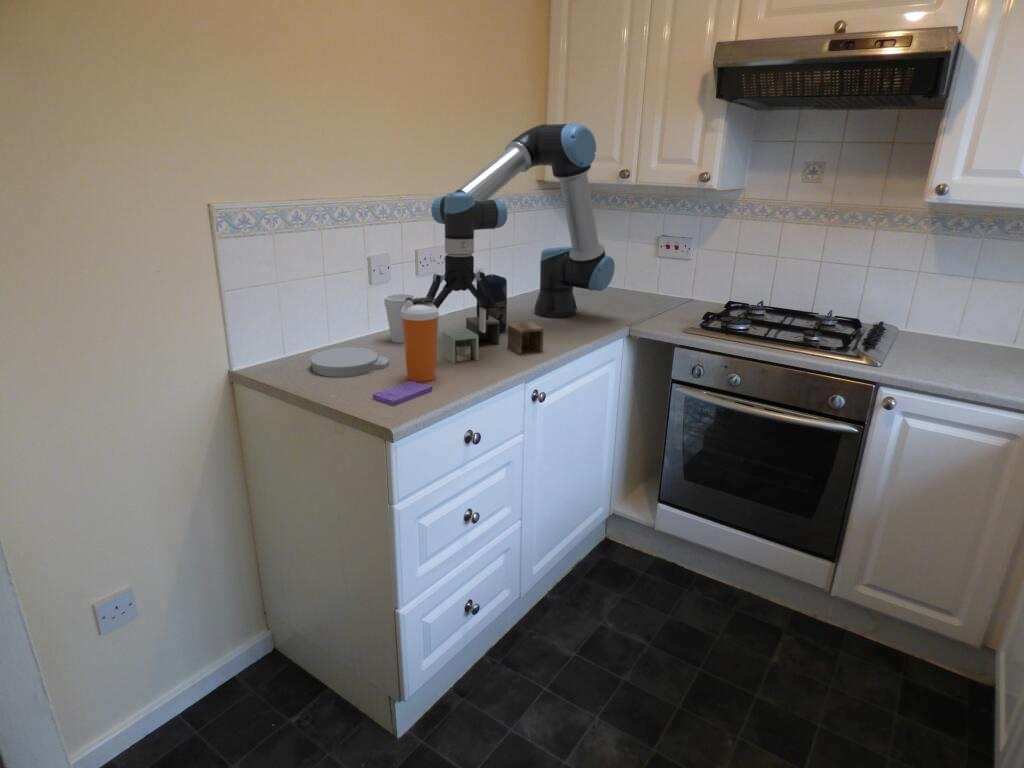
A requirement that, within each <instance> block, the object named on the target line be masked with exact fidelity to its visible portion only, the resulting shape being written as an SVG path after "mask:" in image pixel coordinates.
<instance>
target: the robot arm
mask: <svg viewBox="0 0 1024 768" xmlns="http://www.w3.org/2000/svg"><path fill="white" fill-rule="evenodd" d="M595 153H597V144H596V139H595V136H594V134H593V132H592V130H590V128H589V127H587V126H586V125H584V124H581V123H580V124H577V123H558V124H548V123H546V124H545V123H544V124H538V125H536V126H533V127H532V128H529V129H528V130H525V131H524V132H522V133H521V134H519V135H518V136H515V138H514V139H513V140H511V141H509V142H508V144H506V146H505V148H504V151H503V152H502V153H501V154H500V155H498V156H496V158H495V159H493V160H492V161H491V162H490V163H488V164H487V165H486V166H484V168H482V169H481V170H479V172H477V173H476V174H474V175H473V176H472V178H471V177H470V179H469V180H468V181H466V182H465V183H464V184H463V185H461V186H460V187H459V188H457V190H455V191H453V192H448V193H446V194H445V195H444V196H438V197H436V198H435V199H434V200H433V202H432V203H431V209H430V210H431V211H430V213H431V215H432V218H433V220H434V221H435V222H436V223H437V224H440V225H441V224H442V225H444V253H445V254H446V255H445V256H444V274H437V273H434V274H433V276H432V282H431V285H430V288H429V290H428V291H427V294H426V296H425V297H431V298H435V300H433V305H435V306H436V308H437V309H438V310H439V308H440V307H441V305H442V304H443V302H444V301H445V300H446V299H447V297H448V296H449V295H450V294H451V293H452V292H453V291H454V292H460V291H467V290H468V291H469V292H470V293H471V294H472V296H473V297H474V298H475V299H476V301H477V300H478V302H479V303H480V304H481V305H482V306H483V308H482V307H480V308H479V331H481V332H482V333H486V320H488V319H489V309H490V308H491V306H495V304H496V303H495V301H494V298H493V296H492V294H491V292H490V290H489V287H488V285H487V283H486V281H485V276H486V274H485V273H484V272H482V271H477V272H474V269H475V268H474V266H475V263H474V261H475V258H474V255H473V254H474V252H475V231H477V230H495V229H499V228H502V227H503V226H504V225H505V224H506V223H507V221H508V208H507V206H506V204H505V203H504V202H503V201H501V200H499V199H490V198H491V197H493V196H494V195H495V194H496V193H497V192H499V190H502V188H504V186H506V185H507V184H508V183H509V182H510V181H512V179H514V178H516V176H517V175H519V174H520V173H525V172H527V171H529V169H532V168H533V167H537V166H538V167H539V166H548V167H549V166H550V167H551V171H552V176H553V177H554V178H555V179H557V180H559V186H560V191H561V196H562V201H563V206H564V211H565V212H564V213H565V216H566V222H567V227H568V231H569V237H570V242H571V245H572V246H559V247H558V246H557V247H549V248H544V249H543V250H542V251H541V252H540V253H541V254H540V262H539V263H540V264H539V265H540V267H539V268H540V269H539V273H540V274H539V276H540V277H539V279H540V280H539V292H538V295H537V299H536V300H535V304H534V307H533V311H534V312H533V313H534V314H535V315H536V316H540V317H543V318H552V319H562V318H563V319H565V318H571V317H575V316H576V315H577V314H578V306H577V302H576V298H575V295H574V288H578V289H583V290H585V289H586V290H590V291H596V292H597V291H598V292H600V291H604V290H605V289H607V288H608V287H609V285H610V283H611V282H612V280H613V277H614V274H615V267H616V266H615V265H616V264H615V260H614V258H612V257H611V256H610V255H606V251H605V250H606V249H605V246H604V245H603V244H601V243H600V242H599V237H598V231H597V225H596V220H595V213H594V207H593V203H592V202H593V200H592V197H591V190H590V189H591V188H590V184H589V177H588V172H590V170H591V168H592V164H593V162H594V161H595V158H596V154H595ZM474 280H476V281H477V280H478V282H479V284H480V287H481V289H482V291H483V293H484V295H485V297H486V300H487V302H486V301H485V299H484V298H483V297H482V296H481V294H480V293H479V292H478V291H477V287H476V286H475V285H474V284H473V282H474ZM443 281H444V282H445V284H444V286H443V287H442V289H441V290H440V292H439V293H438V291H439V288H440V286H441V284H442V283H443ZM437 293H438V295H437ZM436 295H437V296H436ZM423 302H426V301H423ZM439 319H440V315H439V312H438V318H437V338H439V337H440V330H439V329H440V325H439V324H440V322H439Z"/></svg>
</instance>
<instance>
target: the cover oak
mask: <svg viewBox="0 0 1024 768" xmlns="http://www.w3.org/2000/svg"><path fill="white" fill-rule="evenodd" d="M465 329H469V330H470V331H472V332H474V333H475V334H477V335H479V340H489V341H491V342H492V343H494V344H496V345H500V339H501V337H500V336H501V335H500V333H501V332H500V321H498V320H497V319H495V318H493V317H491V316H489V319H488V320H486V333H482V332H481V331H479V317H477V316H470V317H465Z"/></svg>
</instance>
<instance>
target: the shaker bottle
mask: <svg viewBox="0 0 1024 768" xmlns="http://www.w3.org/2000/svg"><path fill="white" fill-rule="evenodd" d="M435 299H436V297H435V298H431V297H426V296H424V297H417V298H416V299H412V298H411V297H407V298H406V299H405V305H404V306H403V308H402V309H401V318H402V322H403V333H404V343H403V344H404V353H405V355H404V356H405V364H406V376H407V379H408V380H409V381H414V382H417V383H423V382H430V381H433V380H434V379H436V377H437V347H438V346H437V345H438V344H437V342H438V341H437V338H438V337H437V318H438V313H439V311H438V310H439V308H438V309H437V308H436V306H435V305H433V301H434V300H435ZM424 301H426V302H424Z"/></svg>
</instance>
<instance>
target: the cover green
mask: <svg viewBox="0 0 1024 768" xmlns="http://www.w3.org/2000/svg"><path fill="white" fill-rule="evenodd" d="M462 342H465V343H467V344H468V345H470V346H471V359H473V360H475V361H479V351H480V350H479V347H480V346H479V345H480V343H479V335H477V334H475V333H474V332H472V331H470V330H469V329H466V328H464V329H453V330H447V331H446V330H445V331H442V357H443V358H445V359H446V360H447V361H449V362H450V363H451V364H452V365H453V364H454V365H455V364H456V360H455V343H462Z"/></svg>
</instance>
